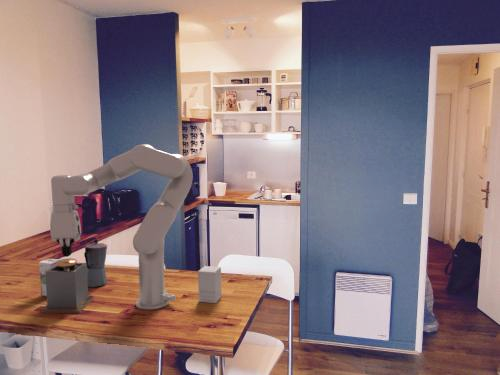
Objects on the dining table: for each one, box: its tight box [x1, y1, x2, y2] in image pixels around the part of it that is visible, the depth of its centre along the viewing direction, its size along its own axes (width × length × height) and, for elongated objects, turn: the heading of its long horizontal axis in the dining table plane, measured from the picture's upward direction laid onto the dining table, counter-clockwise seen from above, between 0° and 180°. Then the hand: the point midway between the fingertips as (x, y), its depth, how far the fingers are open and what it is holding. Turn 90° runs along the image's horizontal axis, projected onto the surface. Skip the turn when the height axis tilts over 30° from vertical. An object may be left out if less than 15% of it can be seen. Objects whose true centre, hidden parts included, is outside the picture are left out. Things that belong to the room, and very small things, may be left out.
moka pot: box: [83, 239, 108, 288], centre depth 185 cm, size 10×15×20 cm, turn 174°
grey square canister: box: [40, 262, 95, 314], centre depth 162 cm, size 14×14×15 cm
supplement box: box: [197, 265, 222, 304], centre depth 168 cm, size 7×7×13 cm
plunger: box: [56, 257, 78, 271], centre depth 162 cm, size 8×8×14 cm
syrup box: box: [38, 258, 59, 298], centre depth 173 cm, size 6×6×14 cm
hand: (67, 255), depth 161 cm, fingers closed
